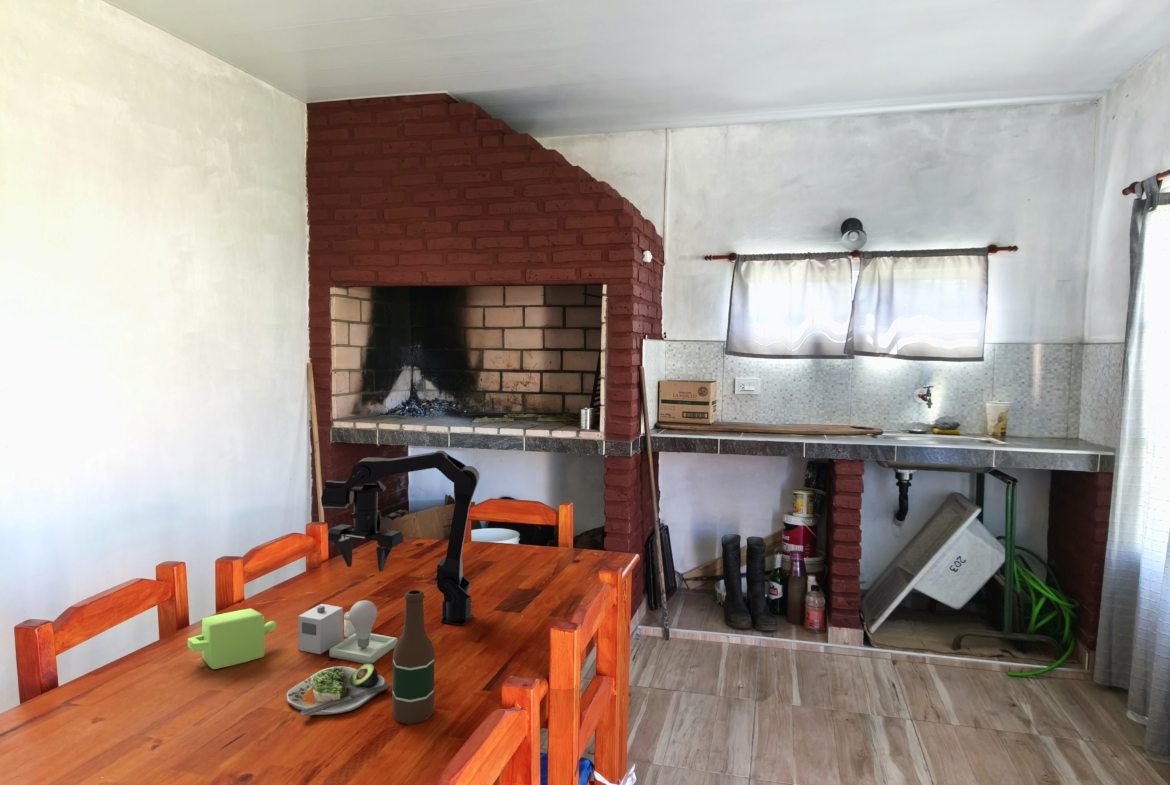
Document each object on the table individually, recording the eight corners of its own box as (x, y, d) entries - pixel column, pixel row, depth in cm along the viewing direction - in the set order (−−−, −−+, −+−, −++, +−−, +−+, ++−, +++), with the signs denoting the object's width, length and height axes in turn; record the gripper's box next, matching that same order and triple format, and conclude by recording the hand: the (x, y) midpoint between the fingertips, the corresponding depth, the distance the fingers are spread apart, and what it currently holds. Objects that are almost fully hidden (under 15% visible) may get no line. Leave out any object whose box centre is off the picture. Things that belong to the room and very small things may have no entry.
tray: (397, 645, 165) (397, 637, 165) (370, 664, 155) (370, 656, 155) (358, 638, 168) (358, 631, 168) (329, 656, 158) (329, 648, 158)
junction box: (343, 639, 167) (343, 602, 167) (319, 654, 159) (319, 615, 159) (322, 635, 169) (322, 599, 169) (297, 650, 161) (297, 612, 160)
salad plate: (336, 734, 128) (336, 709, 128) (261, 712, 135) (261, 688, 135) (401, 687, 146) (401, 665, 146) (332, 670, 153) (332, 649, 153)
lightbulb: (368, 655, 158) (368, 606, 158) (344, 652, 160) (343, 604, 159) (382, 644, 164) (382, 597, 163) (358, 641, 165) (358, 595, 165)
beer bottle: (395, 704, 139) (397, 584, 137) (436, 703, 139) (437, 584, 138) (388, 725, 131) (389, 599, 129) (430, 725, 132) (432, 599, 130)
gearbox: (269, 640, 167) (269, 600, 167) (285, 652, 160) (285, 610, 160) (184, 660, 155) (184, 617, 155) (197, 674, 148) (197, 629, 148)
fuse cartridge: (365, 631, 172) (365, 611, 172) (356, 638, 168) (355, 618, 168) (350, 629, 173) (350, 609, 173) (340, 636, 169) (340, 616, 169)
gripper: (415, 505, 183) (414, 564, 184) (353, 498, 189) (353, 555, 190) (391, 514, 172) (390, 577, 174) (326, 507, 178) (326, 568, 179)
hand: (365, 568), depth 179 cm, fingers open, 9 cm apart
